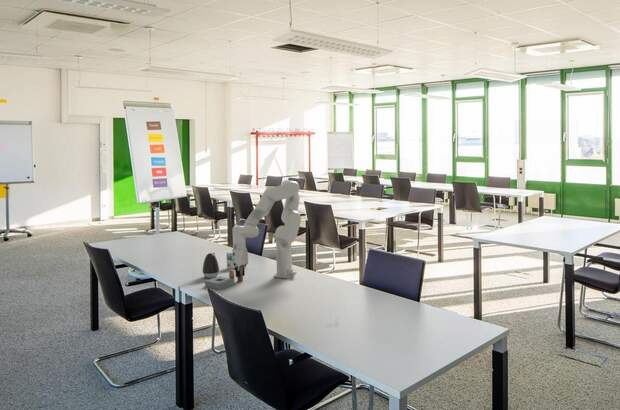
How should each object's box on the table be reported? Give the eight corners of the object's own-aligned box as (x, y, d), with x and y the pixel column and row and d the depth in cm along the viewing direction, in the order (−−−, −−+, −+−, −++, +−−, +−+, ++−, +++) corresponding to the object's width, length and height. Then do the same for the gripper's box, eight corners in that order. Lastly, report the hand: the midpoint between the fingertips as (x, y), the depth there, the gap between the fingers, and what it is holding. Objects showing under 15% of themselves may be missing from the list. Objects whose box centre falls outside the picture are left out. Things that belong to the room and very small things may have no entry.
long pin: (244, 280, 297) (243, 263, 296) (240, 282, 295) (239, 264, 293) (240, 280, 299) (239, 262, 298) (236, 281, 296) (235, 263, 295)
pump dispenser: (222, 275, 311) (221, 251, 309) (215, 279, 301) (214, 255, 299) (207, 274, 313) (206, 251, 312) (199, 278, 303) (198, 254, 302)
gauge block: (234, 284, 289) (234, 279, 288) (219, 289, 279) (219, 283, 278) (220, 281, 295) (219, 276, 295) (205, 286, 286) (204, 280, 285)
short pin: (235, 278, 304) (235, 270, 303) (231, 279, 301) (231, 271, 301) (231, 277, 306) (231, 269, 305) (228, 278, 303) (227, 270, 303)
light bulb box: (233, 269, 326) (233, 253, 324) (226, 268, 330) (226, 252, 328) (244, 266, 334) (244, 250, 333) (237, 265, 338) (237, 249, 337)
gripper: (234, 249, 285) (235, 280, 288) (253, 244, 299) (253, 274, 301) (224, 247, 290) (225, 278, 292) (244, 243, 303) (244, 272, 305)
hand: (240, 275), depth 296 cm, fingers closed on long pin, 3 cm apart
